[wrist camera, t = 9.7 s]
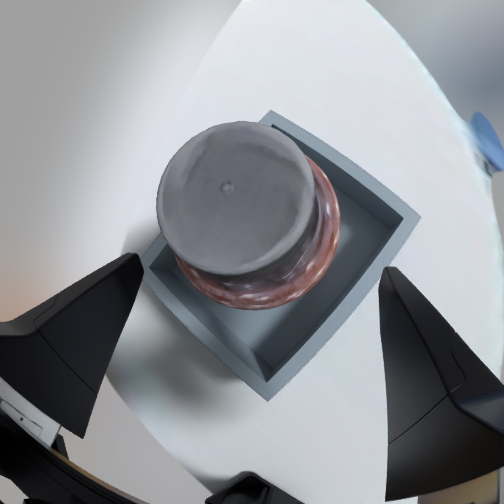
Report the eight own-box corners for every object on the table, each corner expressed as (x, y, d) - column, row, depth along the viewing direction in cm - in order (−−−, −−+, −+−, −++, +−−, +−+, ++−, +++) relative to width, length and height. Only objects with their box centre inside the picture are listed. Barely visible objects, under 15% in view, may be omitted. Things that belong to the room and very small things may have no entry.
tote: (276, 380, 17) (267, 401, 13) (164, 273, 20) (133, 268, 16) (400, 232, 17) (421, 216, 13) (278, 141, 19) (270, 109, 16)
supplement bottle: (225, 296, 17) (105, 298, 6) (236, 206, 18) (148, 103, 7) (320, 306, 16) (347, 334, 5) (327, 211, 17) (350, 92, 6)
